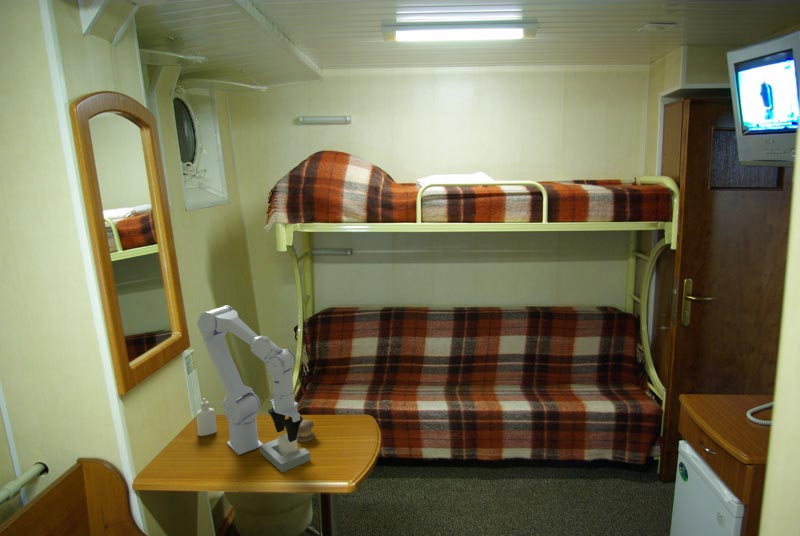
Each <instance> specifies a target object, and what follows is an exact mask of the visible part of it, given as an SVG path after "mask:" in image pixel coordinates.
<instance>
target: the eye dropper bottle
mask: <svg viewBox="0 0 800 536" xmlns="http://www.w3.org/2000/svg"><path fill="white" fill-rule="evenodd" d="M209 402H210V401H208V400H206V398H205V397H204V398H202V402H200V409H199V410H197V412H196V414H195V415H196V424H197V425H196V427H197V434H198V436H200V437H204V436H205V437H206V436H209V435H212V434H215V433H216V432H217V421H216V420H217V419H216V412H215V409H214V408H212V407H210V404H209Z"/></svg>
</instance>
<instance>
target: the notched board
mask: <svg viewBox="0 0 800 536" xmlns="http://www.w3.org/2000/svg"><path fill="white" fill-rule="evenodd" d="M259 448H260V449H259V451H260V454H261V455H262V456H263V457H264V458H266V460H268V461H269V462H270V463H271V464H272V466H274V467H275V468H276V469H278V470H279V472H281V473H284V472H287V471H289V470H292V469H293V468H296V467H298V466H300V465H303V464H306V463H307V462H310V461H311V452H310V451H309V450H308V449H306V448H305V447H302V448H300V449H297V451H295V452H292V453H290V454H287V455H285V456H283V457H282V456H281V455H280V454H279V446H278V438H276V439H273V440H270V441H268V442H265V443H263V444H262V445H260V447H259Z"/></svg>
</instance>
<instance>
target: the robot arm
mask: <svg viewBox="0 0 800 536" xmlns="http://www.w3.org/2000/svg"><path fill="white" fill-rule="evenodd" d="M196 324H197V327H198V330H199V332H200V334H201V336H202V340H203V343H204V345H205V347H206V350H207V351H208V354H209V356H210V357H209V358H210V359H211V361H212V364H213V365H214V368H215V370H216V372H217V374H218V377H219V379H220V382H221V384H222V386H223V388H224V390H225V393H226V395H225V397H224V398H223V401H222V406H223V407H224V408H223V409H224V414H225V418H226V420H227V421H228V432H229V441H227V442H226V444H227V446H229V447H230V448H231V449H232V450H233V451H234V452H235V453H236V454H237V455H242V454H245V453H249V452H251V451H253V450H255V449H258V448H260V445H262V444H264V443H263V442H262V441H260V440H259V437H258V436H259V435H258V425H257V416H258V411H260V409H261V400H260V398H259V397H258V395H256V394H255V392H254V390H253V388H252V387H250V386H247V385H245V384H244V382H243V380H242V377H241V376H240V373H239V371H238V369H237V365H236V364H235V362H234V358H233V357H232V355H231V352H230V351H229V347H228V346H227V343H226V342H225V337H226V335H227V332H231V334H233V335H234V336H236V337H238V338H239V339H241V340H242V341H244V342H245V343H246V344H247V345H249V347H250V352H251V353H253V355H255V356H256V357H258V358H259V359H260V360H261V361H262V362H264V363H265V364H266V367H267V372H269V374H270V378H271V380H272V391H273V398H272V399H270V401H269V402H270V406H271V408H270V409H268V410H267V413H268V414H269V416H270V417H271V420H272V422H273V424H274V427H275V430H276V432H277V433H281V432H283V431H285V430H286V433H287V436H288V440H289V442H292V441H295V440H296V439H297V434H298V429H299V426H300V424H301V422H302V420H304V418H303V417H302V415H300V413H299V412H298V409H297V407H298V406H299V403H298V402H297V401H295V394H294V393H295V392H294V390H295V389H294V379H293V378H294V377H293V368H294V366H295V365H296V363H297V360H296V357H295V354H294V353H293V351H291V350H290V349H287V348H282V347H279V346H278V345H276V343H274V342H273V341H271V339H270V338H269V337H268V336H266V335H258V334H257V333H256V332H255V331H253V330H252V329H251V328H250V327H249V326H248V325H247V324H246V323H245V322H244V321H243V320H242V319H241V318H240V317H239V314H238V311H236V310H235V309H234V308H233V307H232V306H230V305H222V306H221V307H218V308H214V309H211V310H208V311H203V312H202V313H201V314H200V315H199V316H198V320H197V323H196ZM240 397H242V398H240ZM238 398H240V399H238ZM237 399H238V400H237ZM286 417H288V418H286Z"/></svg>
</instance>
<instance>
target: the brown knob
mask: <svg viewBox="0 0 800 536" xmlns="http://www.w3.org/2000/svg"><path fill="white" fill-rule="evenodd" d="M314 426H315V425H314V421H313V420H311V419H303V420H302V422H301V424H300V426H299V429H298V434H297V443H307V442H310V441H312V440H313V439H315V433H314V431H312V429H313V428H314Z"/></svg>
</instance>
